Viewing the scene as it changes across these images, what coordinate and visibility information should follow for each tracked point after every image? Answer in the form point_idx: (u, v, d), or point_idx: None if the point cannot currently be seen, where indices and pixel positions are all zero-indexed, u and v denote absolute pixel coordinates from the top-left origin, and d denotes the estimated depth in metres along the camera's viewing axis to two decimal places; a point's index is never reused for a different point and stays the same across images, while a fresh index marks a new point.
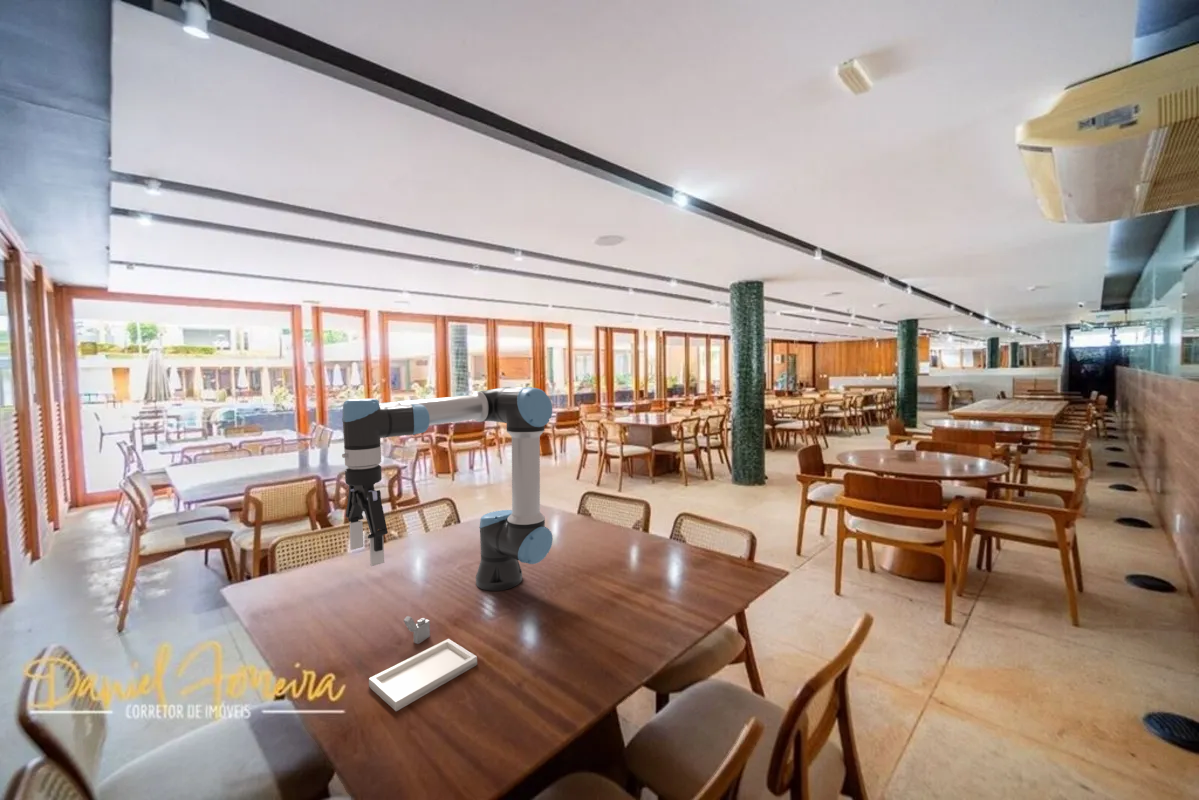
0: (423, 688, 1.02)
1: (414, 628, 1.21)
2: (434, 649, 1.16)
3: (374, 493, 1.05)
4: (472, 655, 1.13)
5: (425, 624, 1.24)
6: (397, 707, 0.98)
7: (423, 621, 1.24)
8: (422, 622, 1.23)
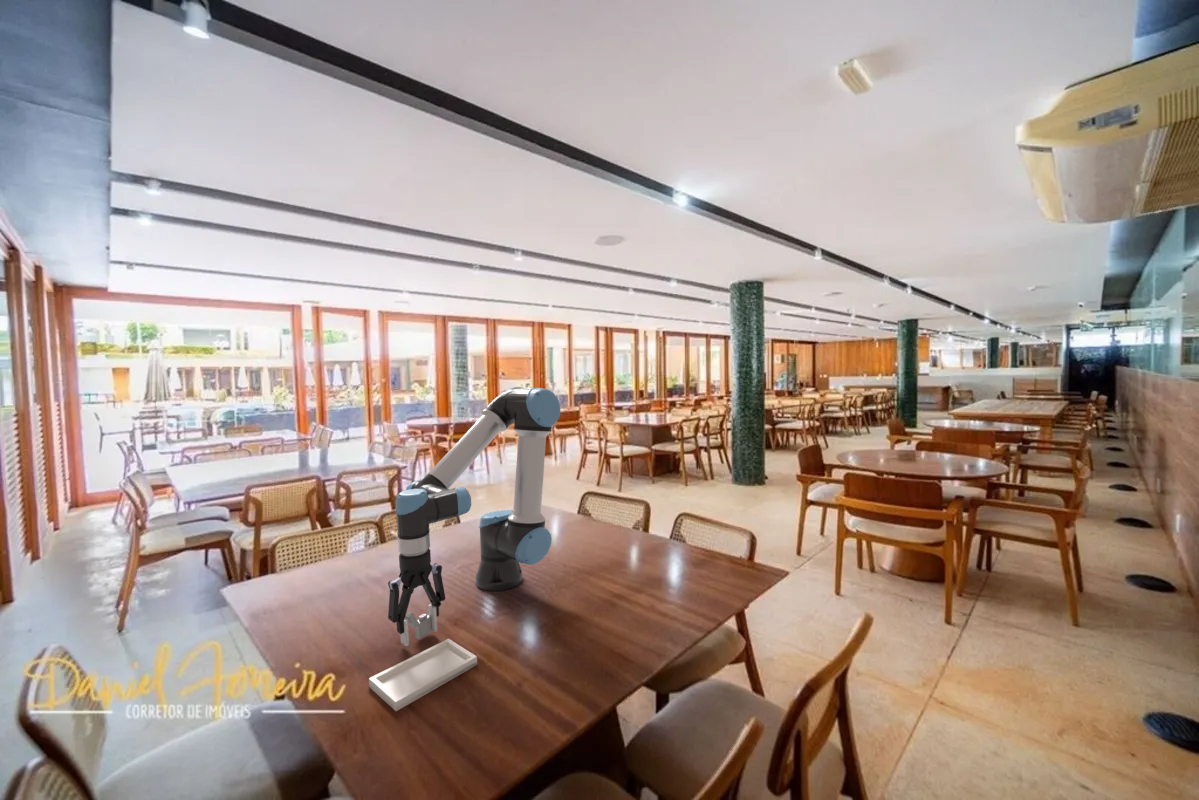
0: (423, 688, 1.02)
1: (416, 624, 1.21)
2: (434, 649, 1.16)
3: (390, 584, 1.17)
4: (472, 655, 1.13)
5: (427, 620, 1.24)
6: (397, 707, 0.98)
7: (425, 617, 1.24)
8: (424, 618, 1.24)
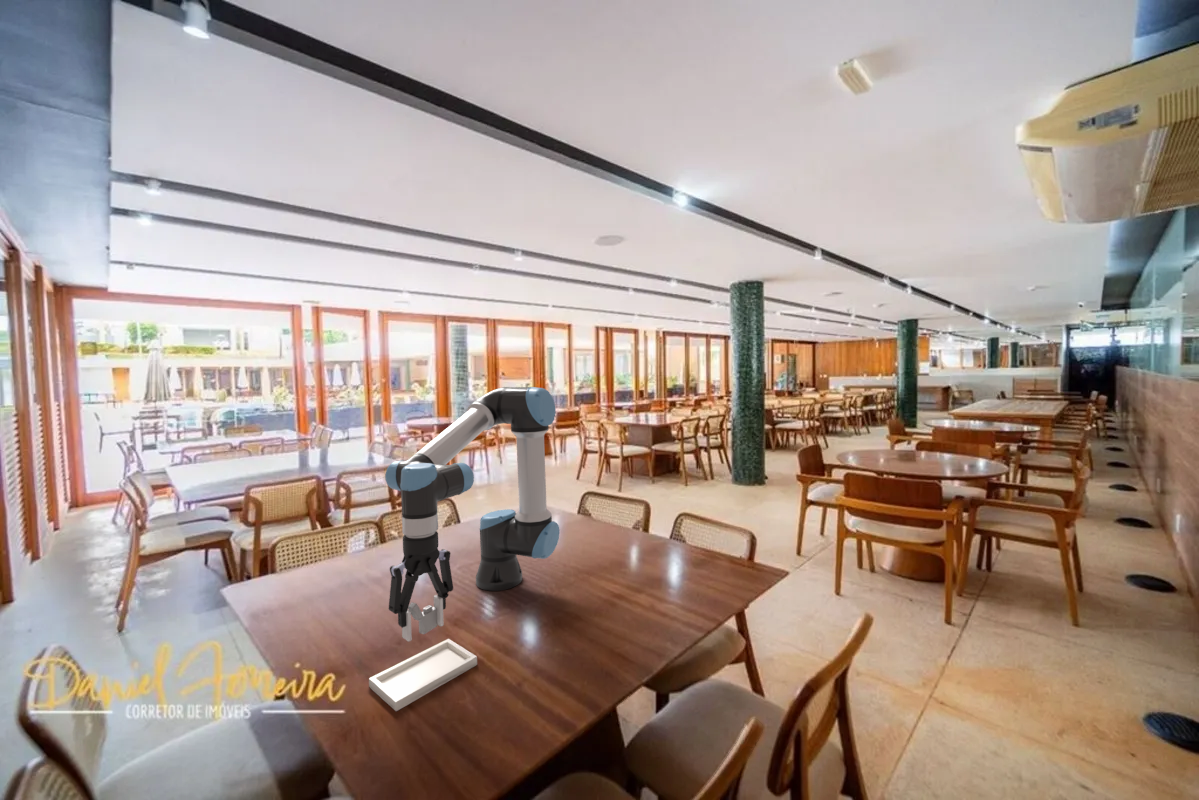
0: (423, 688, 1.02)
1: (420, 616, 1.06)
2: (434, 649, 1.16)
3: (392, 570, 1.02)
4: (472, 655, 1.13)
5: (432, 612, 1.10)
6: (397, 707, 0.98)
7: (430, 609, 1.09)
8: (428, 610, 1.09)
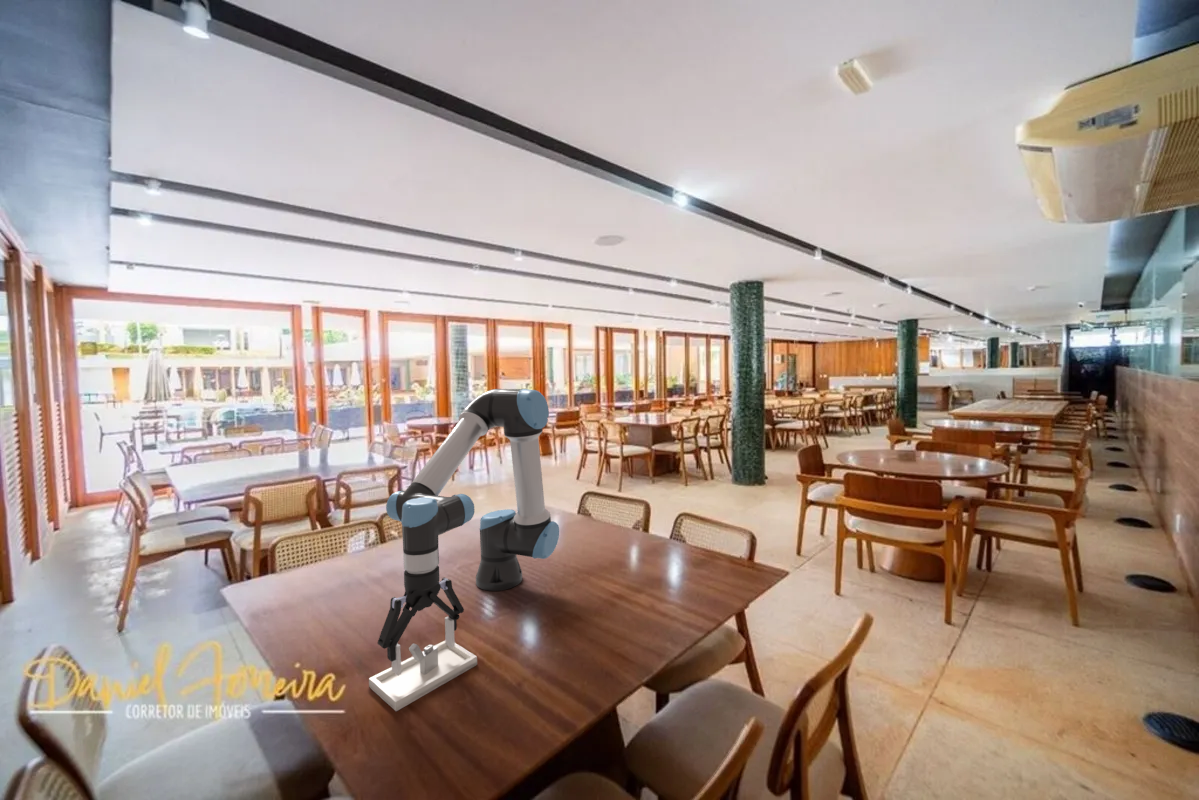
0: (423, 688, 1.02)
1: (421, 657, 1.07)
2: None
3: (393, 601, 1.03)
4: (472, 655, 1.13)
5: (433, 652, 1.10)
6: (397, 707, 0.98)
7: (431, 648, 1.10)
8: (429, 650, 1.10)
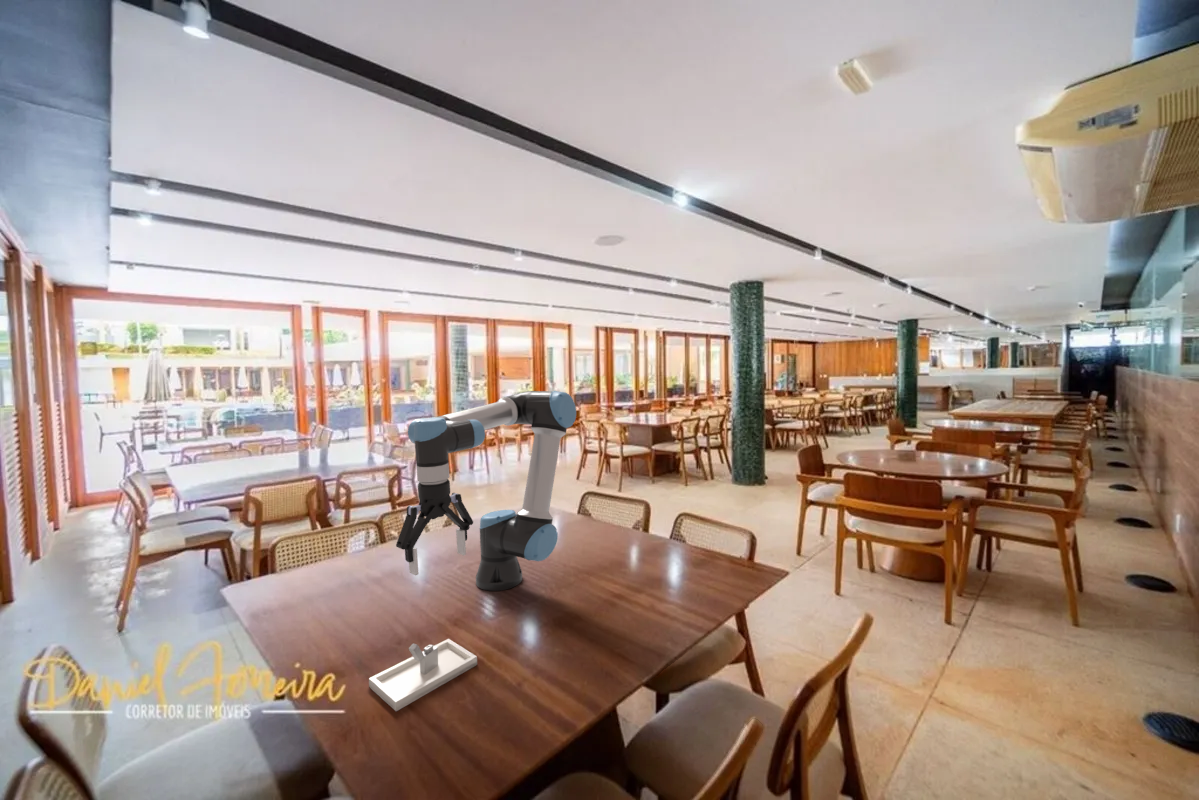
0: (423, 688, 1.02)
1: (421, 657, 1.07)
2: None
3: (409, 508, 1.13)
4: (472, 655, 1.13)
5: (433, 652, 1.10)
6: (397, 707, 0.98)
7: (431, 648, 1.10)
8: (429, 650, 1.10)
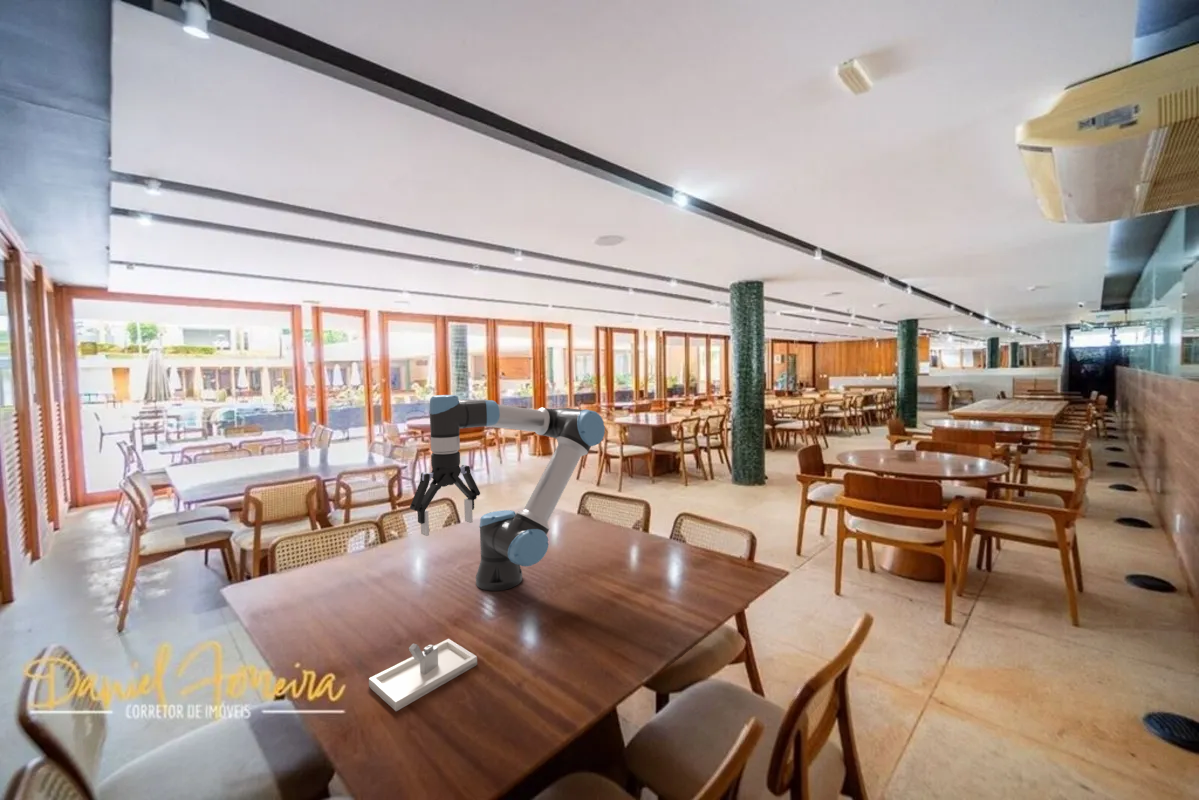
0: (423, 688, 1.02)
1: (421, 657, 1.07)
2: None
3: (423, 474, 1.24)
4: (472, 655, 1.13)
5: (433, 652, 1.10)
6: (397, 707, 0.98)
7: (431, 648, 1.10)
8: (429, 650, 1.10)
